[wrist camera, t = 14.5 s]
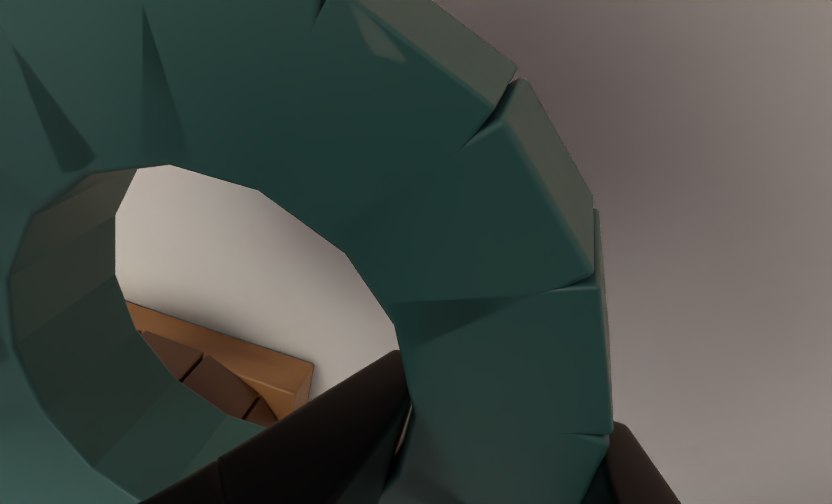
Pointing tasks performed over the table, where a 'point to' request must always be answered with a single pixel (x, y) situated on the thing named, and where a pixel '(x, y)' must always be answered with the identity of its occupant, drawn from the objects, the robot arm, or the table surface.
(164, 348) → the walnut ring
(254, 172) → the teal ring
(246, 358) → the peg stand
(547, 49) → the table surface
